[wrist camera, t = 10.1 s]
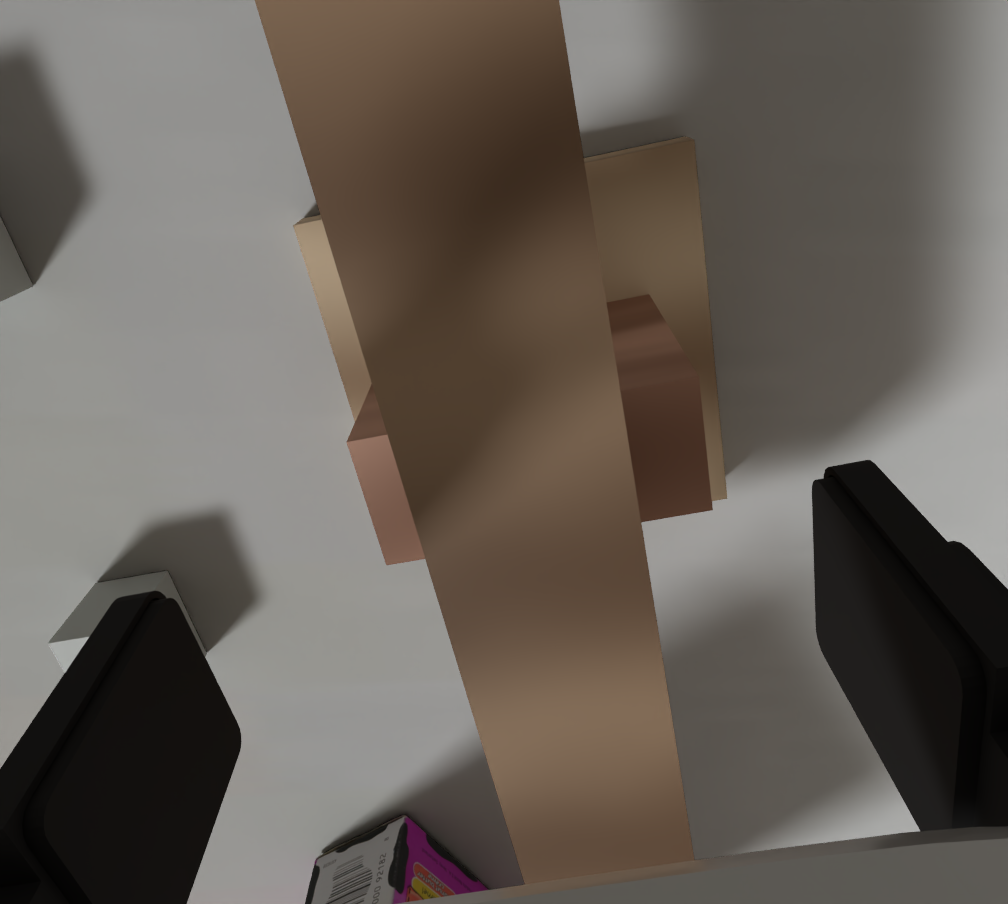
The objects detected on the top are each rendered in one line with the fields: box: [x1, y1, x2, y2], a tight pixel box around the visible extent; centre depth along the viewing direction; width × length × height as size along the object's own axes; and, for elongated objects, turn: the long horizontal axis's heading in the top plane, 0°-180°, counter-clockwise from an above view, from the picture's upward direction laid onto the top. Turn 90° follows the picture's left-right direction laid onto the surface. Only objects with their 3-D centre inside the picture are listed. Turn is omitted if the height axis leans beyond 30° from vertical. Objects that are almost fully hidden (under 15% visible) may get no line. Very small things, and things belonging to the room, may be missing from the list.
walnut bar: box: [255, 0, 694, 885], centre depth 14 cm, size 18×4×4 cm, turn 12°
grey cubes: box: [0, 217, 207, 673], centre depth 22 cm, size 16×2×3 cm, turn 12°
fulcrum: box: [293, 136, 727, 565], centre depth 19 cm, size 10×10×7 cm
